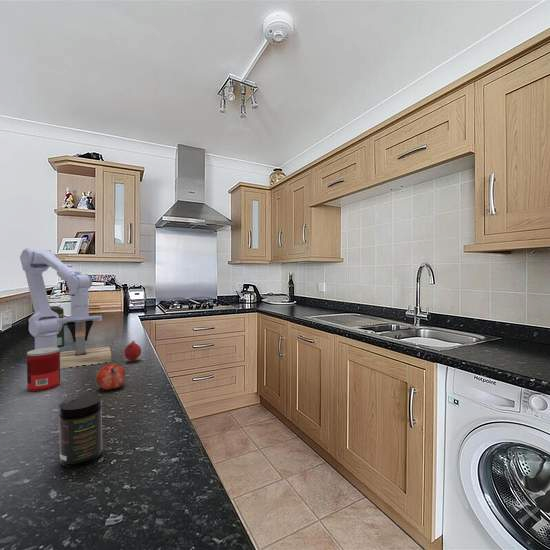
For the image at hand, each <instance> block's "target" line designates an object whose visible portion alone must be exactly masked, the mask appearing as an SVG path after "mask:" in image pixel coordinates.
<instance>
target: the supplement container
mask: <svg viewBox="0 0 550 550" xmlns="http://www.w3.org/2000/svg"><path fill="white" fill-rule="evenodd" d="M58 420H59V421H58V422H59V423H58V424H59V425H58V426H59V462H60V464H61V465H62V466H63V467H65V466H66V468H77V467H76V466H79V467H82V466H81V465H83V466H85V464H86V465H88V464H90V463H92V462H94V461H95V460H97V459H98V458H99V457H100V455H101V454H102V452H103V397H102V396H101V395H99V394H82V395H77V396H73V397H71V398H68V399H66V400H64V401H62V402H61V403H59V405H58ZM97 457H98V458H97ZM93 460H94V461H93ZM89 462H90V463H89ZM87 463H88V464H87Z"/></svg>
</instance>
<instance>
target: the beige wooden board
mask: <svg viewBox="0 0 550 550" xmlns="http://www.w3.org/2000/svg"><path fill="white" fill-rule="evenodd" d="M105 362H107V363H111V362H112V351H111V349H110V346H104V347H103V346H101V347H93V348H85V353H81V354H76V350H69V351H60V370H62V369H63V368H65V369H70V368H69V367H72V368H77V367H76V366H79V367H83V366H82V365H86V366H92V365H91V364H93V365H99V364H98V363H100V364H105ZM63 370H64V369H63Z"/></svg>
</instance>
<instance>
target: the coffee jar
mask: <svg viewBox="0 0 550 550" xmlns="http://www.w3.org/2000/svg"><path fill="white" fill-rule="evenodd" d="M50 309H51V310H52V311H54V312H56V313H57V314H58V317H59V318H65V315H64V313H65V312H64V308H62V307H61V306H57V305H52V306H51V305H50ZM64 345H65V323H64V324H62V328H61V330H60V331H59V334H57V348H59V347H62V346H64Z"/></svg>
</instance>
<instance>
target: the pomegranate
mask: <svg viewBox="0 0 550 550" xmlns="http://www.w3.org/2000/svg"><path fill="white" fill-rule="evenodd" d="M125 375H126V374H125V369H124V367H123V366H121V365H117V364H114V363H108V364H106V365H104V366H102V368H101V369H100V370H99V371H98V372H97V374H96V382H97V383H98V386H99V388H101V389H102V390H106V391H109V389H110V390H112V389H113V390H114V389H117V388H120V387H122V385H123V384H124V382H125Z"/></svg>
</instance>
